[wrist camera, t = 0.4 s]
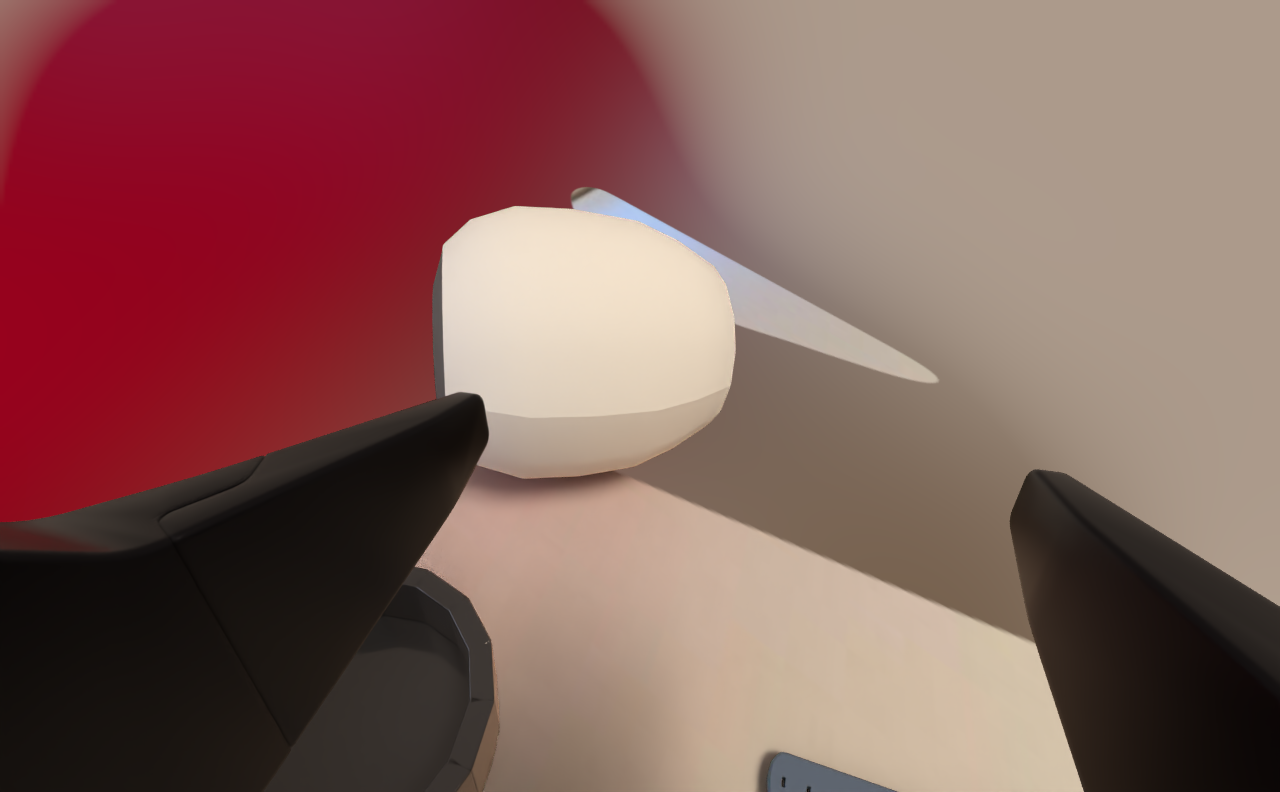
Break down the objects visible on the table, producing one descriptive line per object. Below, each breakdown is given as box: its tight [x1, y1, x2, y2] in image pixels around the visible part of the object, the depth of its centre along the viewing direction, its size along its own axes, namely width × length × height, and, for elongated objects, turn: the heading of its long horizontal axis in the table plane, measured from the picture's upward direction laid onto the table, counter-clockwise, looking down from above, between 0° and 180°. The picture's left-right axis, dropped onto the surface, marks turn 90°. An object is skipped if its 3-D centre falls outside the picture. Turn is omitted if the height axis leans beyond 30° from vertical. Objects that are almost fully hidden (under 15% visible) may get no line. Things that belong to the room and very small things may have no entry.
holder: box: [264, 567, 500, 792], centre depth 19 cm, size 10×10×4 cm
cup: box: [433, 206, 736, 479], centre depth 28 cm, size 13×13×14 cm
